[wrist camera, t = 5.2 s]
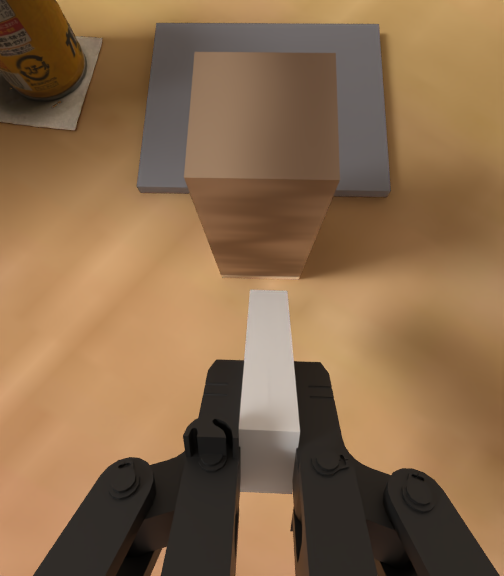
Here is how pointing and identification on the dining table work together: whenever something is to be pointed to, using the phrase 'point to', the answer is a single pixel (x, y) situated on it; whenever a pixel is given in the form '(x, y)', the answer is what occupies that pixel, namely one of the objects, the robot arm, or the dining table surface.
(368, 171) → the mat
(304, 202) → the walnut block
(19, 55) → the condiment
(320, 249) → the dining table surface
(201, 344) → the dining table surface
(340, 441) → the robot arm
